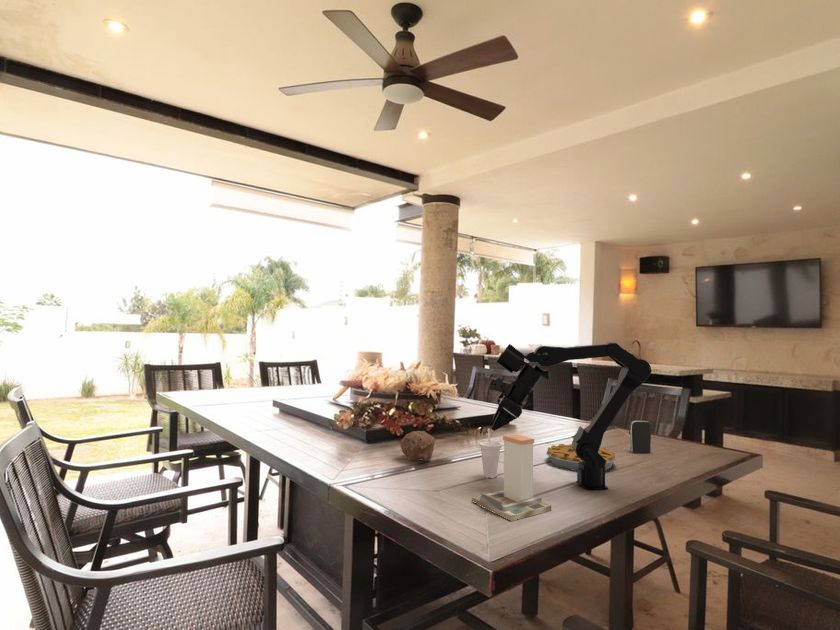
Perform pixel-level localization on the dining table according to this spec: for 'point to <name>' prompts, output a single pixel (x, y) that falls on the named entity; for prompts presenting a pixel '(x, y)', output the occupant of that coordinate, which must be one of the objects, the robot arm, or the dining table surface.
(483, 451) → the smoothie
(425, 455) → the decorative rock
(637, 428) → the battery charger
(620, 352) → the robot arm
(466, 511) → the dining table surface
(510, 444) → the white rectangular tower
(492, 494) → the switch base
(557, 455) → the pie
